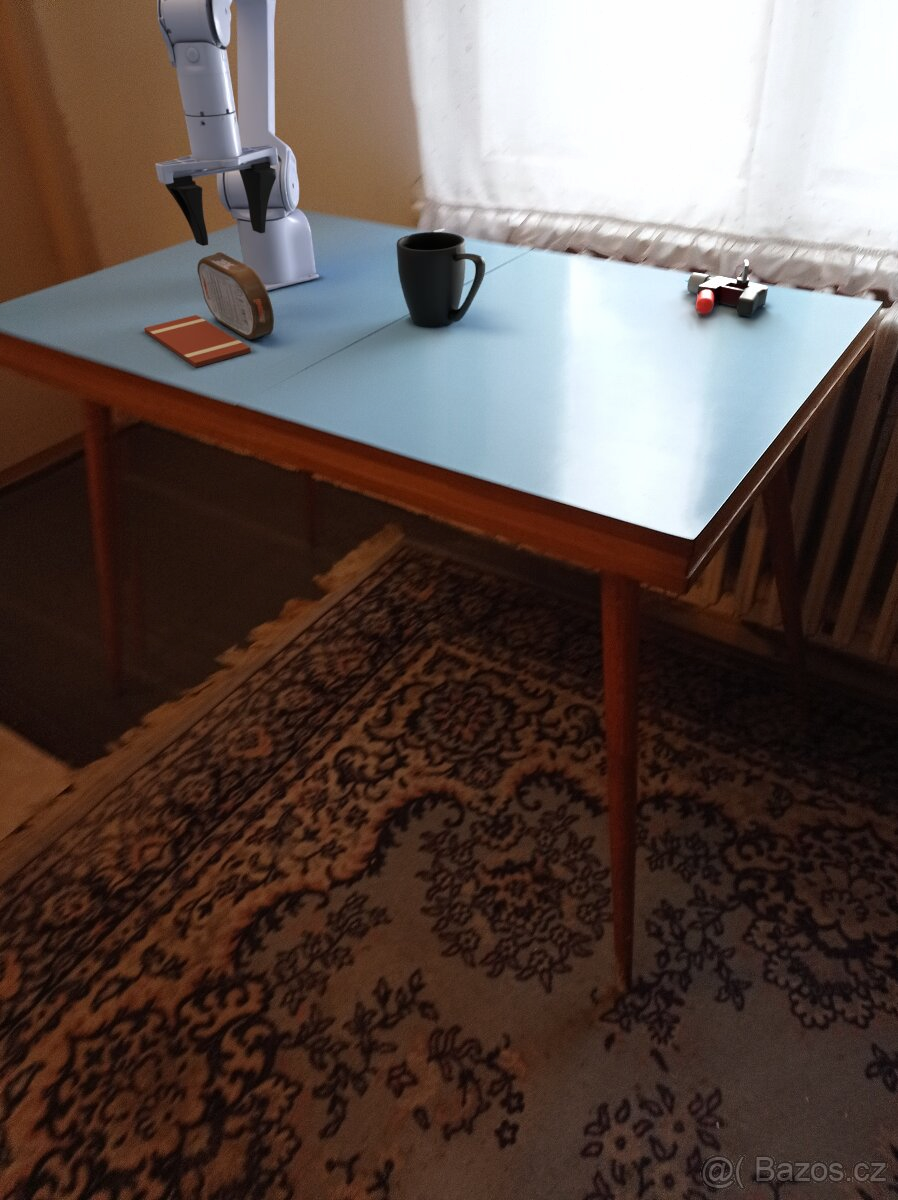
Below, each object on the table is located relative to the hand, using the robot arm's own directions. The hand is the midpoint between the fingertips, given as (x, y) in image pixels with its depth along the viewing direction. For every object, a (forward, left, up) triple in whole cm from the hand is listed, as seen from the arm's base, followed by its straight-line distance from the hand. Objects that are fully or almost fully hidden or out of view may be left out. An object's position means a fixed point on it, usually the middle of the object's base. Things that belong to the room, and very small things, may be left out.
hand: (231, 237), depth 111 cm
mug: (-18, +19, -10) cm, 28 cm away
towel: (+9, +4, -10) cm, 14 cm away
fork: (-33, -3, -10) cm, 35 cm away
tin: (+3, +4, -10) cm, 11 cm away
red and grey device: (-47, +37, -10) cm, 61 cm away
